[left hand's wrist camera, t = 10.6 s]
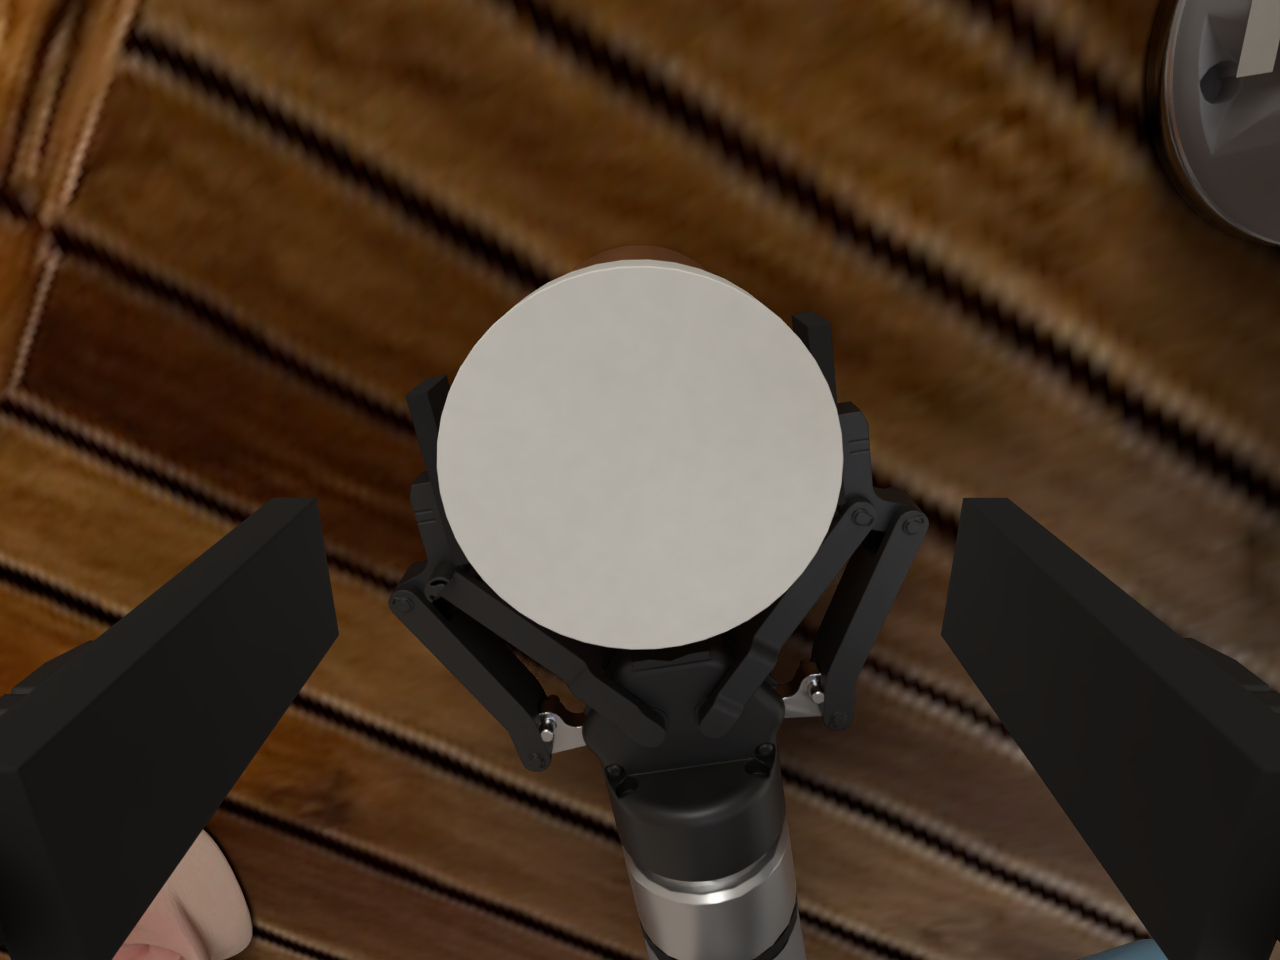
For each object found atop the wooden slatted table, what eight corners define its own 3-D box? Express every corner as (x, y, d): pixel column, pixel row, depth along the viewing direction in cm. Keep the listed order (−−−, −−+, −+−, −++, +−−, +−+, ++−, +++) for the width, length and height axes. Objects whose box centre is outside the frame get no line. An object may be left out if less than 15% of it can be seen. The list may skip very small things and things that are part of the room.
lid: (487, 623, 21) (472, 663, 19) (424, 277, 18) (399, 286, 16) (824, 597, 21) (842, 636, 19) (823, 241, 18) (845, 246, 16)
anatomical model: (-56, 846, 36) (179, 848, 36) (9, 786, 40) (222, 788, 40) (19, 1030, 41) (228, 1032, 41) (71, 961, 45) (262, 963, 45)
